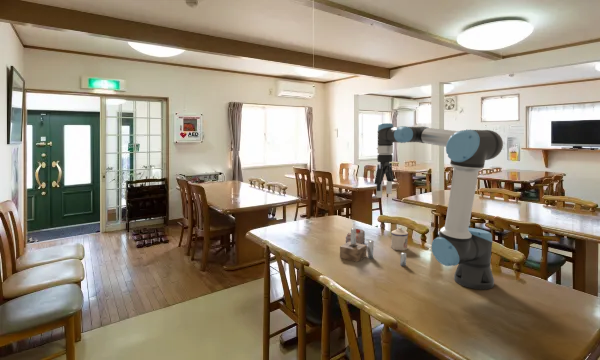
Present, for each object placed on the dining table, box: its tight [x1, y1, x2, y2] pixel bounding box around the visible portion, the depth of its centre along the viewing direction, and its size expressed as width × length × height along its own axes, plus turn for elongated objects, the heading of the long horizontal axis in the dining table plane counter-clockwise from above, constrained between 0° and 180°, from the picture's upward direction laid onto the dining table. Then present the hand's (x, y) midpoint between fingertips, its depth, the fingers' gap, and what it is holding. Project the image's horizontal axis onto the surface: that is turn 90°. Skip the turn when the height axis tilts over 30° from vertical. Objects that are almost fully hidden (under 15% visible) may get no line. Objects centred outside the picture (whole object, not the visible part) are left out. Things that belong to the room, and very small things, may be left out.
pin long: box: [350, 227, 357, 247], centre depth 174 cm, size 3×3×15 cm
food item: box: [345, 228, 366, 244], centre depth 192 cm, size 14×8×10 cm, turn 151°
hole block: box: [339, 242, 367, 263], centre depth 174 cm, size 10×10×6 cm
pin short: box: [400, 251, 407, 267], centre depth 163 cm, size 3×3×6 cm
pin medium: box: [367, 239, 375, 260], centre depth 173 cm, size 3×3×9 cm
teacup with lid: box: [390, 227, 409, 251], centre depth 189 cm, size 12×9×12 cm
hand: (384, 195), depth 173 cm, fingers open, 13 cm apart
